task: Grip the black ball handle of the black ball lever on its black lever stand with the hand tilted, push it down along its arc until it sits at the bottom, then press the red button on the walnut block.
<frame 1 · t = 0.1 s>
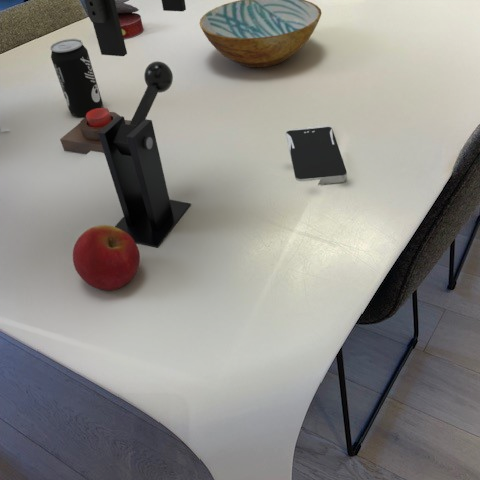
hand: (146, 30, 55), 23 cm above the table, tool pointing down, fingers open, 13 cm apart
beverage can: (87, 111, 97), on the table
canned food: (124, 33, 126), on the table
black ball lever: (144, 106, 62), point 15 cm above the table, hinge at 22.0°
smartphone: (314, 159, 78), on the table
apple: (115, 282, 63), on the table
button block: (106, 142, 88), on the table
cancel button: (99, 118, 84), point 4 cm above the table, slide at 0.1 cm
bowl: (261, 57, 108), on the table
black lever stand: (151, 225, 70), on the table
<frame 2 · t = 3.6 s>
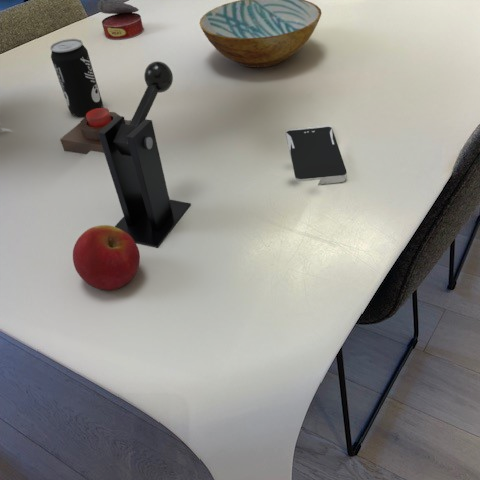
nothing on the table moved.
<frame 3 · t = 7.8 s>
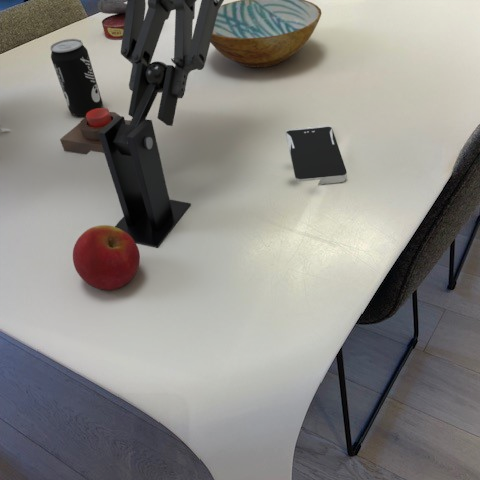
hand: (150, 119, 64), 13 cm above the table, tool tilted 45°, fingers closed on black ball lever, 4 cm apart
black ball lever: (144, 106, 62), point 15 cm above the table, hinge at 22.0°, touching gripper
everything else where it was.
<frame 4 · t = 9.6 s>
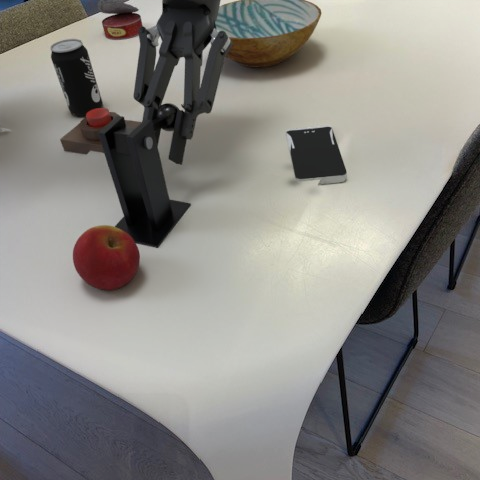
hand: (161, 159, 68), 7 cm above the table, tool tilted 45°, fingers closed on black ball lever, 4 cm apart
black ball lever: (150, 127, 64), point 12 cm above the table, hinge at -10.6°, touching gripper
everything else where it was.
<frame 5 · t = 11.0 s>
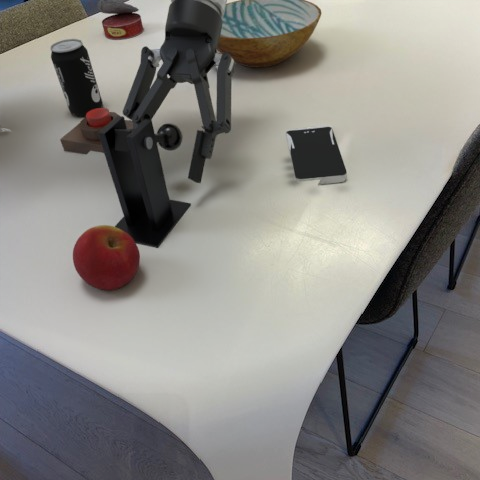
hand: (164, 175, 70), 4 cm above the table, tool tilted 45°, fingers open, 9 cm apart
black ball lever: (151, 138, 65), point 11 cm above the table, hinge at -25.5°
everything else where it was.
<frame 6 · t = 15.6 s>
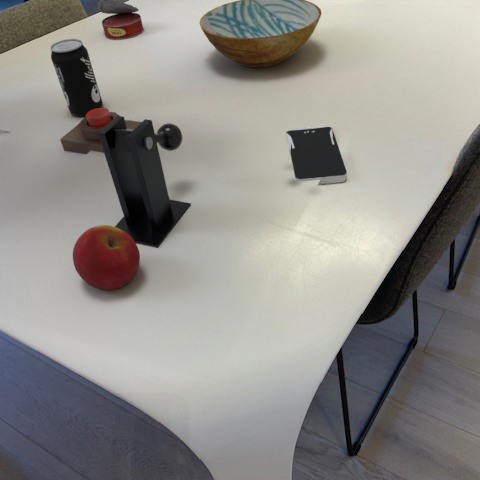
nothing on the table moved.
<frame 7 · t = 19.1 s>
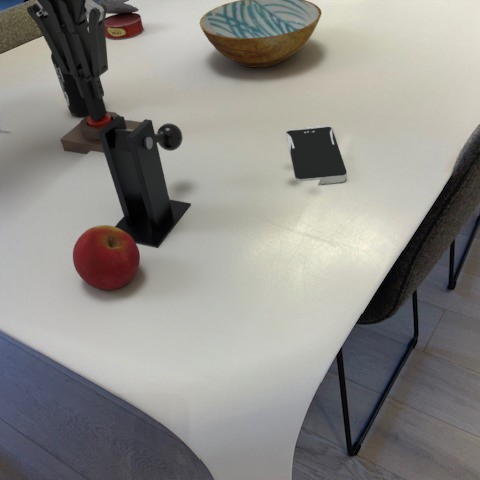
hand: (99, 116, 84), 5 cm above the table, tool pointing down, fingers closed
cancel button: (100, 122, 85), point 4 cm above the table, slide at -0.7 cm, touching gripper
everything else where it was.
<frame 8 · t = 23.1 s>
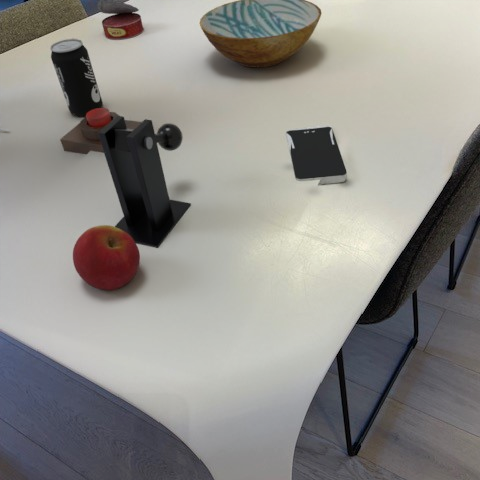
cancel button: (99, 118, 84), point 4 cm above the table, slide at 0.1 cm
everything else where it was.
at the end: black ball lever at -26° (first picture: +22°); cancel button pushed in 1.0 cm at the most during the clip, back to where it started at the end; cancel button slide at 0.1 cm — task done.
